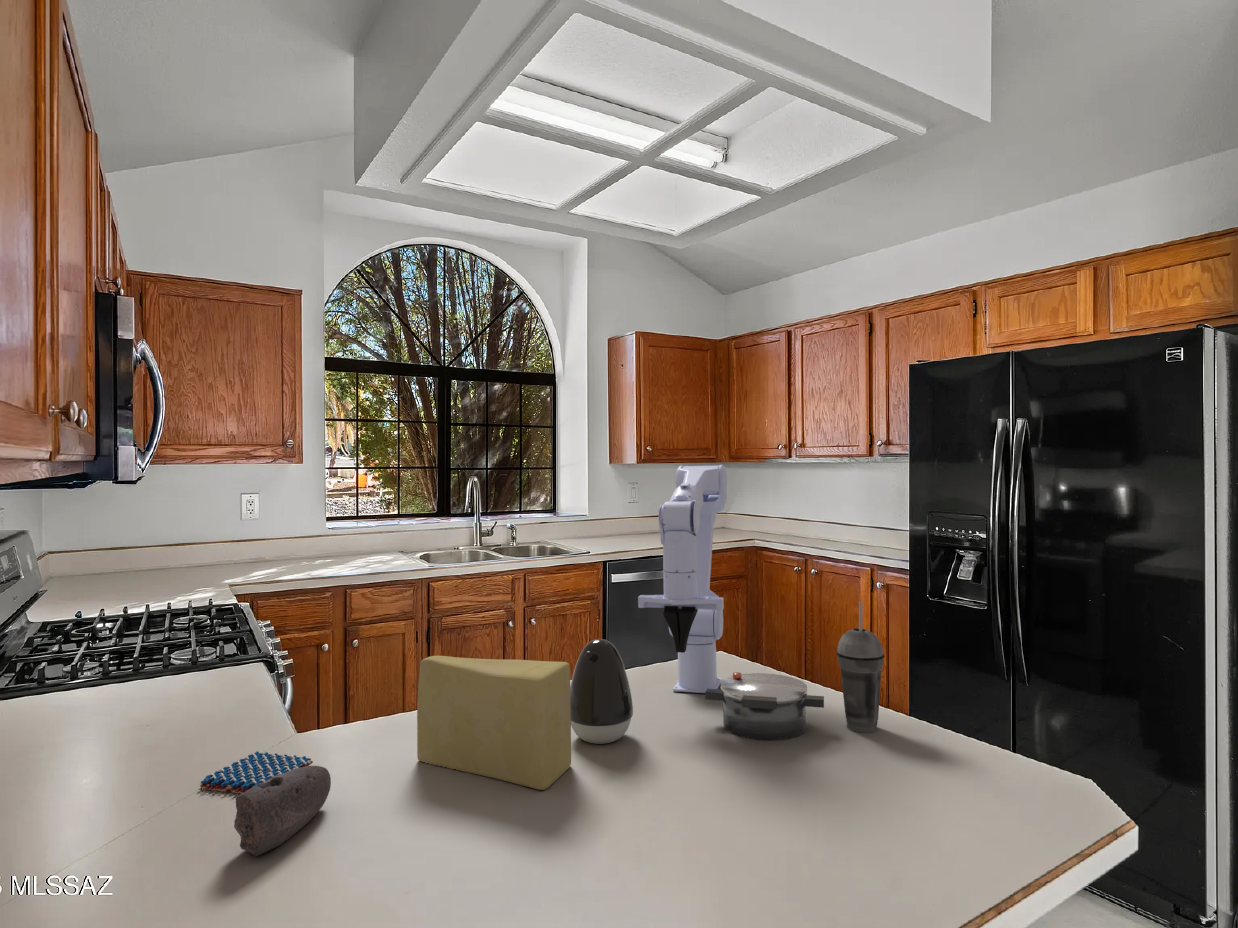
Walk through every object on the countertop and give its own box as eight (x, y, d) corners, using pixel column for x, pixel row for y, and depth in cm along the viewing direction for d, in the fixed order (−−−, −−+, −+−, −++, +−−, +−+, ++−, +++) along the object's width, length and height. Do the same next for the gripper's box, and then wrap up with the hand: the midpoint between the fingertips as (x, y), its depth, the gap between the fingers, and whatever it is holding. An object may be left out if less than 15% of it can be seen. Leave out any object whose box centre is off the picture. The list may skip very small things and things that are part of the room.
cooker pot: (712, 708, 124) (712, 676, 124) (824, 716, 119) (823, 683, 119) (700, 734, 111) (699, 698, 112) (824, 744, 106) (823, 707, 107)
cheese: (398, 773, 99) (397, 663, 99) (438, 748, 108) (437, 647, 108) (544, 794, 91) (542, 676, 92) (574, 765, 100) (572, 657, 101)
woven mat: (317, 769, 102) (317, 754, 102) (262, 802, 91) (262, 786, 91) (255, 762, 104) (255, 748, 104) (195, 793, 94) (195, 778, 94)
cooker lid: (726, 677, 123) (726, 666, 123) (808, 682, 120) (807, 670, 120) (713, 705, 109) (713, 692, 109) (806, 711, 105) (805, 698, 105)
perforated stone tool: (311, 802, 90) (311, 746, 90) (348, 806, 89) (348, 749, 89) (216, 864, 76) (216, 797, 76) (257, 870, 74) (257, 802, 74)
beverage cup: (879, 720, 117) (876, 597, 117) (892, 736, 110) (888, 604, 110) (833, 719, 117) (831, 597, 118) (843, 735, 110) (840, 604, 111)
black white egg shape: (557, 747, 107) (555, 644, 108) (580, 724, 117) (579, 630, 117) (622, 753, 104) (620, 648, 105) (641, 729, 114) (639, 633, 115)
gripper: (633, 573, 121) (634, 654, 121) (719, 574, 117) (720, 658, 117) (643, 568, 128) (644, 645, 127) (724, 569, 124) (726, 649, 123)
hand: (681, 651), depth 122 cm, fingers closed
